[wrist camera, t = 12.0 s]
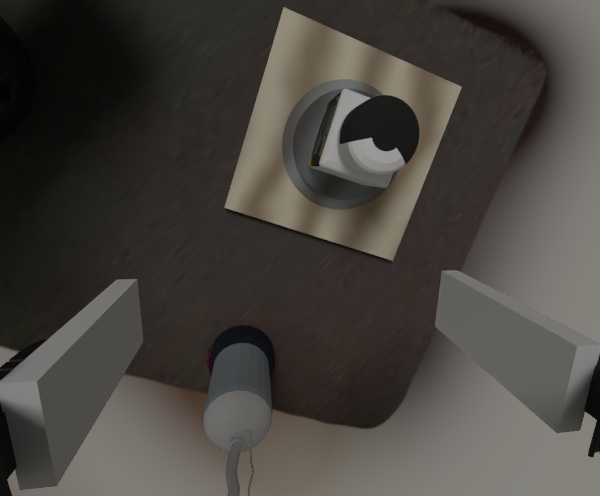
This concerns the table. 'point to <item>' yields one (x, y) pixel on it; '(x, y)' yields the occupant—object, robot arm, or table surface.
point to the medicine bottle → (365, 138)
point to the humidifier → (239, 395)
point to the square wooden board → (304, 129)
